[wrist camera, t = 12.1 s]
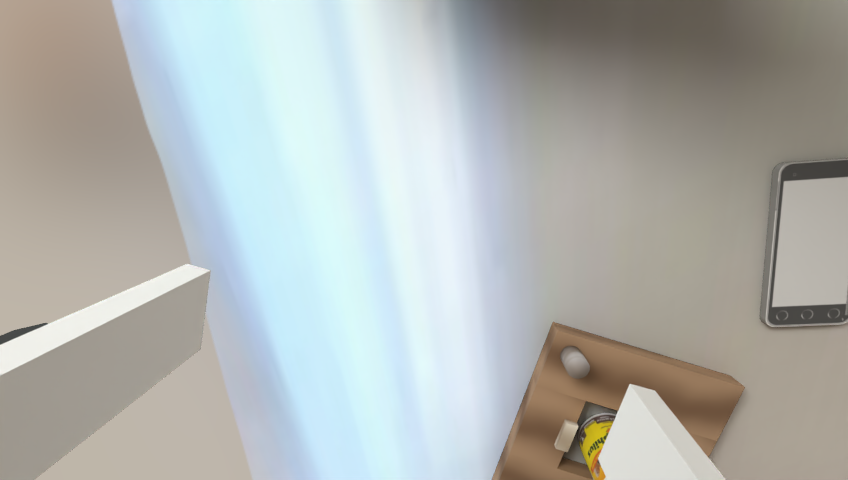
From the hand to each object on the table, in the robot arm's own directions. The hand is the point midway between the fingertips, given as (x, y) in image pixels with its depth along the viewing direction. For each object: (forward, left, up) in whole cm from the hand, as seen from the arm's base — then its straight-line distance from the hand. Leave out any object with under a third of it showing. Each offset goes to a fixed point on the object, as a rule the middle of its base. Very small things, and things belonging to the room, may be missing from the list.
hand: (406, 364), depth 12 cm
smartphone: (-8, +32, -28) cm, 43 cm away
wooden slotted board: (+16, +22, -27) cm, 39 cm away
